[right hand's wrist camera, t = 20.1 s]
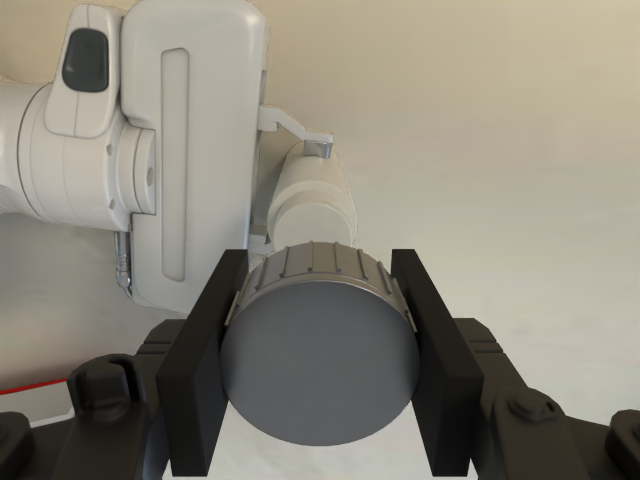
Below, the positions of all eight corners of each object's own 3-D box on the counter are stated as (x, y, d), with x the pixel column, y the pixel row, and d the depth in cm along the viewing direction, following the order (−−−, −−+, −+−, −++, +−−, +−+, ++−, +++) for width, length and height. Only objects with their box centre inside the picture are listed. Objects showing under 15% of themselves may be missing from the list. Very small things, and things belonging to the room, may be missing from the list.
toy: (182, 533, 35) (-224, 615, 31) (201, 415, 47) (-89, 465, 44) (150, 422, 30) (-327, 503, 27) (180, 324, 43) (-144, 371, 39)
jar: (325, 203, 34) (335, 300, 19) (275, 181, 34) (246, 264, 19) (349, 154, 33) (380, 217, 18) (297, 129, 32) (286, 174, 17)
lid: (275, 208, 11) (264, 240, 9) (438, 282, 12) (466, 329, 10) (208, 351, 13) (185, 408, 11) (355, 407, 14) (363, 472, 12)
